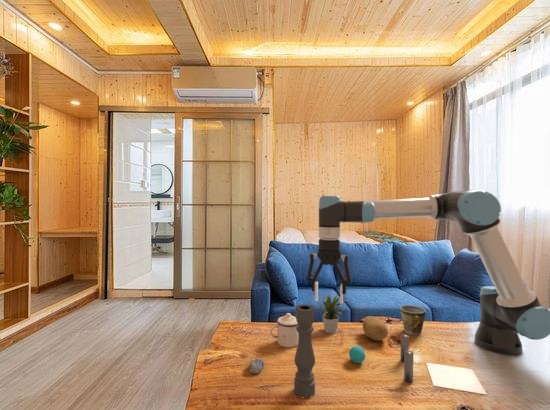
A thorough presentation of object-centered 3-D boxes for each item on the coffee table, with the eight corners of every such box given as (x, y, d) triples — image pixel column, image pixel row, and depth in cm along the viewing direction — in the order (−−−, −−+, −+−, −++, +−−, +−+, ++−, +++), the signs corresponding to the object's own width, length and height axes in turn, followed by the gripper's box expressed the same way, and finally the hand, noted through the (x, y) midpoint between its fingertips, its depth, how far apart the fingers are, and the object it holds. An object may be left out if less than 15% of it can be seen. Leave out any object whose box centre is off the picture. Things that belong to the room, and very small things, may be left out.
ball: (365, 359, 109) (365, 344, 109) (365, 367, 104) (365, 351, 104) (349, 357, 111) (349, 342, 111) (348, 364, 105) (348, 349, 105)
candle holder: (292, 385, 93) (293, 304, 93) (312, 384, 94) (313, 303, 93) (295, 398, 87) (296, 311, 87) (317, 397, 88) (317, 311, 87)
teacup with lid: (295, 336, 127) (296, 308, 127) (302, 346, 118) (303, 317, 118) (267, 339, 124) (267, 311, 124) (272, 350, 116) (272, 319, 115)
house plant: (340, 342, 122) (340, 301, 122) (308, 334, 129) (309, 296, 129) (351, 330, 134) (351, 292, 134) (322, 323, 141) (322, 288, 141)
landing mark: (471, 369, 103) (471, 369, 103) (486, 395, 89) (486, 394, 89) (425, 363, 107) (425, 362, 107) (433, 386, 93) (433, 385, 93)
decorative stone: (249, 359, 106) (262, 354, 106) (254, 371, 105) (267, 367, 104) (243, 364, 100) (257, 359, 99) (248, 378, 99) (261, 373, 98)
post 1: (408, 359, 109) (408, 334, 109) (408, 363, 107) (409, 337, 107) (400, 358, 110) (400, 333, 110) (400, 362, 107) (401, 336, 107)
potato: (378, 330, 134) (379, 312, 134) (393, 345, 120) (394, 325, 120) (357, 331, 133) (357, 313, 133) (369, 346, 119) (369, 326, 119)
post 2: (412, 379, 97) (412, 350, 97) (413, 383, 95) (413, 354, 95) (403, 377, 98) (403, 349, 98) (404, 382, 95) (404, 353, 95)
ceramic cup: (397, 326, 138) (397, 304, 138) (420, 327, 137) (421, 305, 137) (405, 339, 125) (405, 315, 125) (431, 341, 124) (431, 316, 124)
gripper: (298, 238, 109) (297, 301, 110) (359, 241, 103) (358, 308, 103) (302, 236, 116) (302, 295, 117) (360, 238, 110) (359, 301, 110)
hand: (328, 301), depth 110 cm, fingers open, 8 cm apart
